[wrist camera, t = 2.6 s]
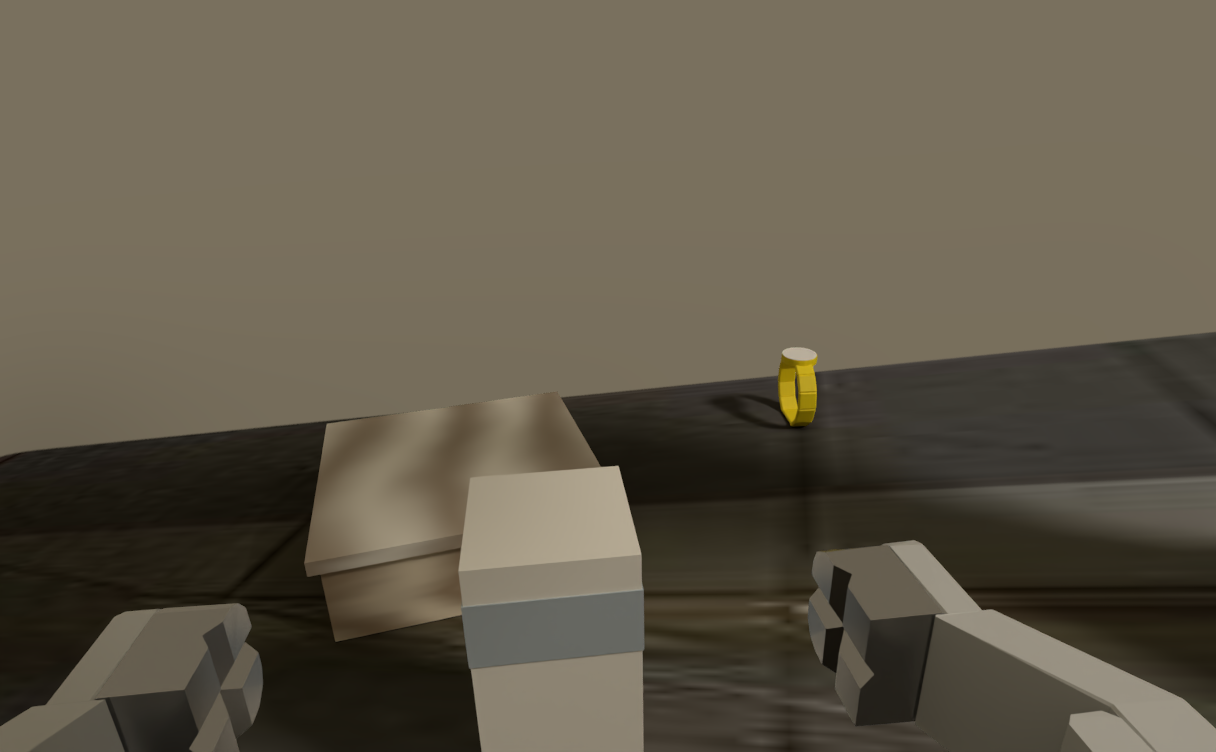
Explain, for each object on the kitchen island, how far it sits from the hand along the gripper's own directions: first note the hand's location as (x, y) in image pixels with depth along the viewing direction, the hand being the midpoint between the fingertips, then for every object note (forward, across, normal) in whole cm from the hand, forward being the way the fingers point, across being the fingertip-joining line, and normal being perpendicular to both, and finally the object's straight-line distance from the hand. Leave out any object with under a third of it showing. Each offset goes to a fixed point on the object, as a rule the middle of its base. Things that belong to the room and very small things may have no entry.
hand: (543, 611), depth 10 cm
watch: (+43, -21, +19) cm, 52 cm away
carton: (+12, 0, +19) cm, 23 cm away
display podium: (+31, +5, +19) cm, 37 cm away
